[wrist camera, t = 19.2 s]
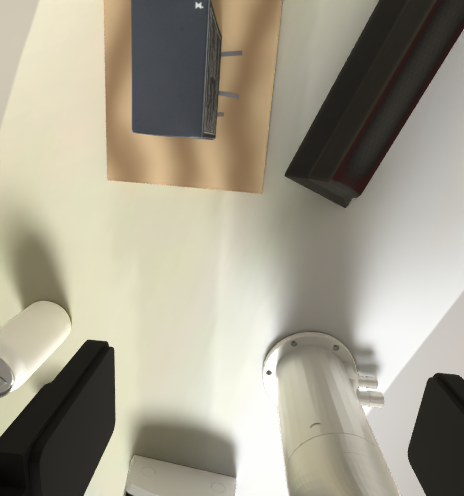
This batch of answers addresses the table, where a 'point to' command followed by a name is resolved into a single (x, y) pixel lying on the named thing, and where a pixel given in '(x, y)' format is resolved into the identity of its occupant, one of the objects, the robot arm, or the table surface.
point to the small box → (175, 68)
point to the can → (30, 342)
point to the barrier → (375, 95)
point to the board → (228, 112)
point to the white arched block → (174, 480)
